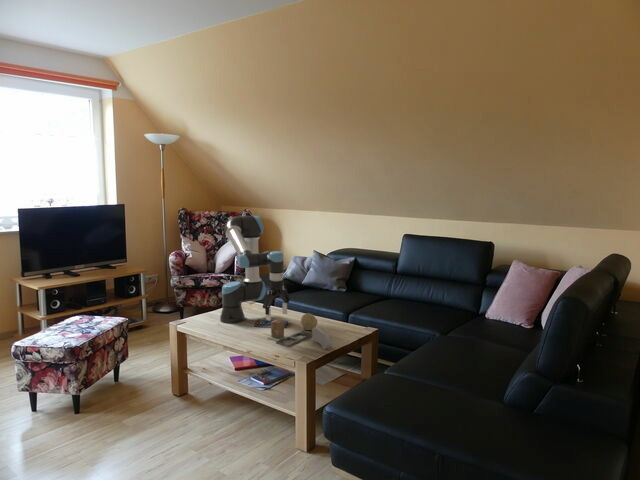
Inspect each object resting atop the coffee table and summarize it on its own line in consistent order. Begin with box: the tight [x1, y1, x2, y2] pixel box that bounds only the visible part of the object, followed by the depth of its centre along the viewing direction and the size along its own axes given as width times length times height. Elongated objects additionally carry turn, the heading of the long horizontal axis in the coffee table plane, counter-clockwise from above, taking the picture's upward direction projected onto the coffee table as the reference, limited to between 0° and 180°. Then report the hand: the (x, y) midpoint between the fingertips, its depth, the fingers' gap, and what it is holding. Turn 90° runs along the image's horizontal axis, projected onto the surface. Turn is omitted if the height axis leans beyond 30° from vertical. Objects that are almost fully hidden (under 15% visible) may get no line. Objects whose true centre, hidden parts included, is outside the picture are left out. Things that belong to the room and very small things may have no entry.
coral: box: [300, 312, 318, 331], centre depth 284 cm, size 10×10×10 cm
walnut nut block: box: [270, 319, 285, 339], centre depth 269 cm, size 5×5×9 cm
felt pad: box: [266, 335, 289, 342], centre depth 269 cm, size 8×8×1 cm
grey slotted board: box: [275, 330, 313, 348], centre depth 267 cm, size 9×22×1 cm, turn 143°
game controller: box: [311, 326, 331, 350], centre depth 258 cm, size 20×2×8 cm, turn 25°
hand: (276, 316), depth 268 cm, fingers open, 13 cm apart
